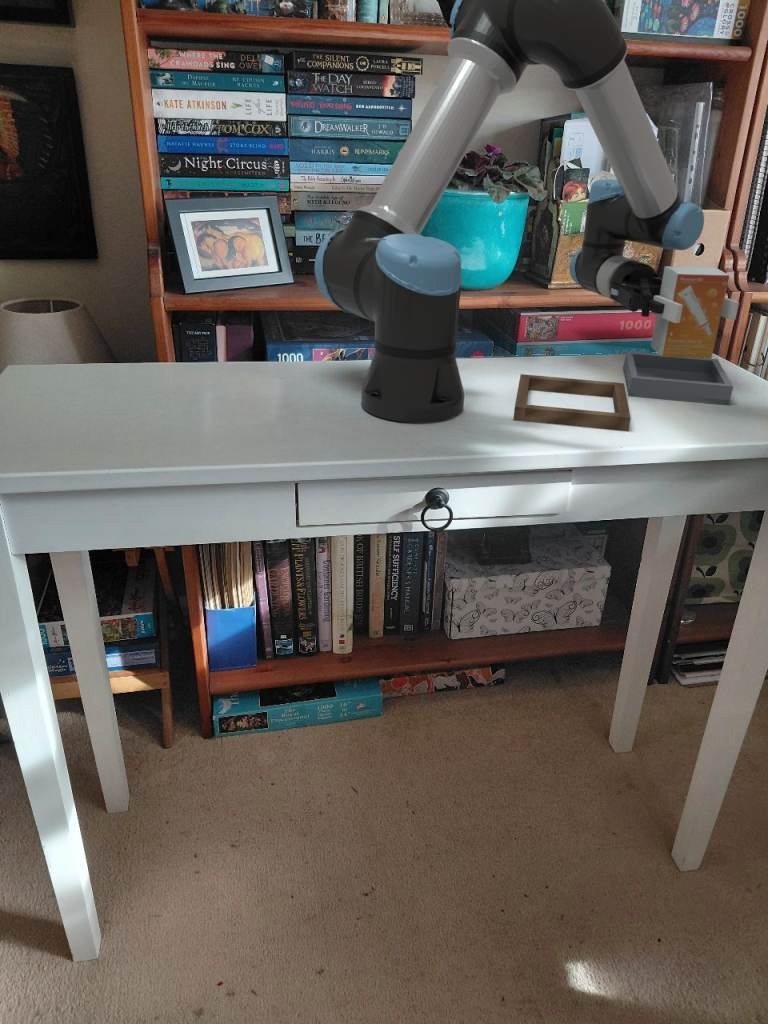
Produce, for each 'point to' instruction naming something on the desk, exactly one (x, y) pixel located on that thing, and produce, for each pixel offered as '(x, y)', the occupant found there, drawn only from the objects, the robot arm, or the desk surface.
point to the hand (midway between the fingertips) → (707, 312)
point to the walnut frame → (573, 416)
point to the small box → (691, 311)
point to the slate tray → (676, 378)
